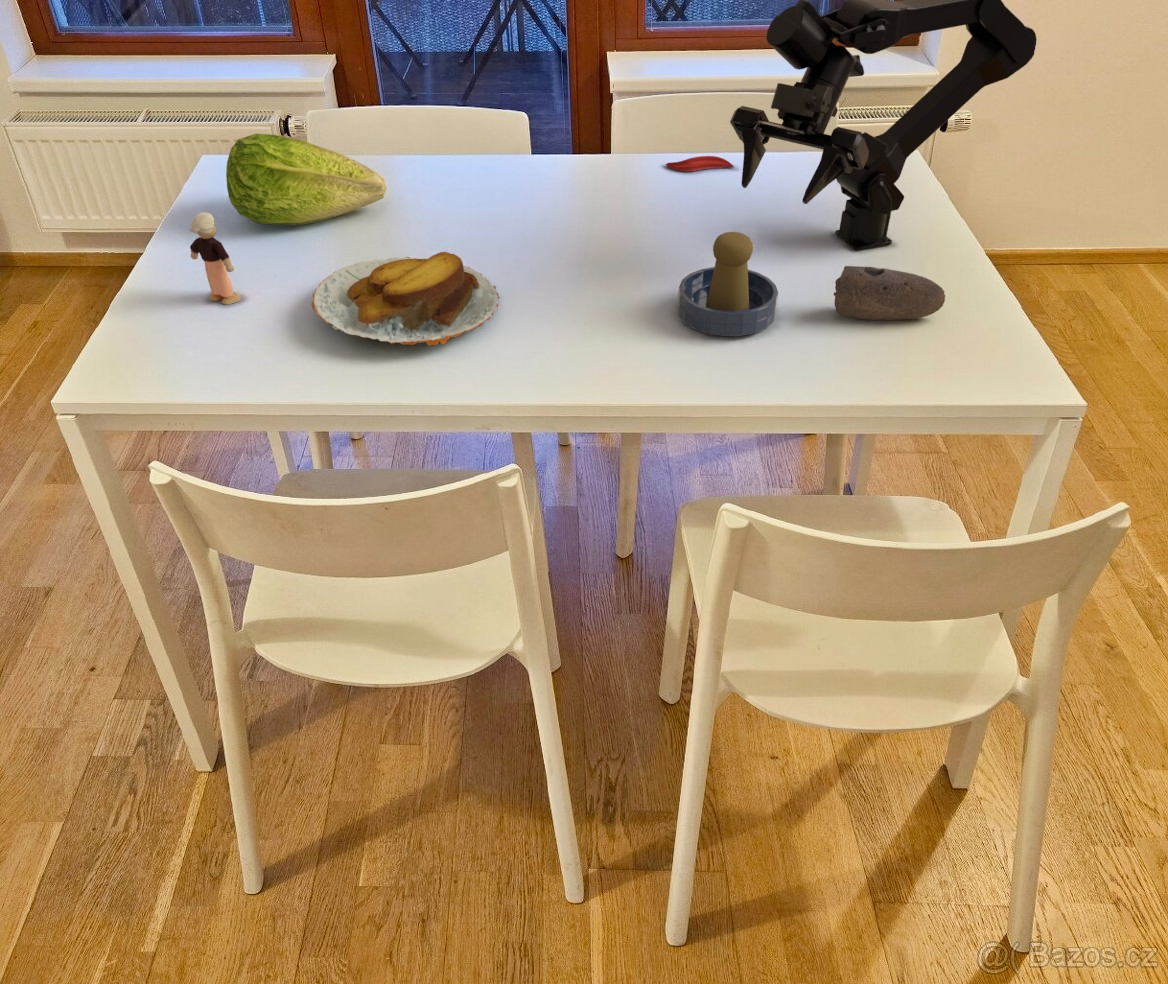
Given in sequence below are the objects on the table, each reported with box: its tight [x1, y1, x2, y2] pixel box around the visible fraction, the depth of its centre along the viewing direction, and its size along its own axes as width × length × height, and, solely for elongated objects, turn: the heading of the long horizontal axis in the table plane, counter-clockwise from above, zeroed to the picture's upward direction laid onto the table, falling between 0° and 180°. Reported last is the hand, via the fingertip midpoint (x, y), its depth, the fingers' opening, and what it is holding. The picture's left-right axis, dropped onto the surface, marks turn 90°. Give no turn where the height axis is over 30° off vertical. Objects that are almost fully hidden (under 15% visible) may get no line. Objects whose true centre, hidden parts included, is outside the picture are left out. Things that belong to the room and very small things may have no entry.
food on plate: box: [311, 251, 500, 346], centre depth 141 cm, size 25×25×7 cm
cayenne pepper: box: [665, 155, 735, 172], centre depth 181 cm, size 12×5×2 cm, turn 79°
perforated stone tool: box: [832, 265, 946, 321], centre depth 139 cm, size 15×5×7 cm, turn 83°
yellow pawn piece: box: [706, 231, 754, 312], centre depth 138 cm, size 6×6×11 cm
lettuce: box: [225, 133, 387, 226], centre depth 164 cm, size 15×24×14 cm, turn 98°
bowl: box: [677, 266, 779, 337], centre depth 140 cm, size 13×13×4 cm
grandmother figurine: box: [189, 211, 242, 305], centre depth 142 cm, size 8×4×13 cm, turn 71°
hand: (773, 194), depth 140 cm, fingers open, 9 cm apart
